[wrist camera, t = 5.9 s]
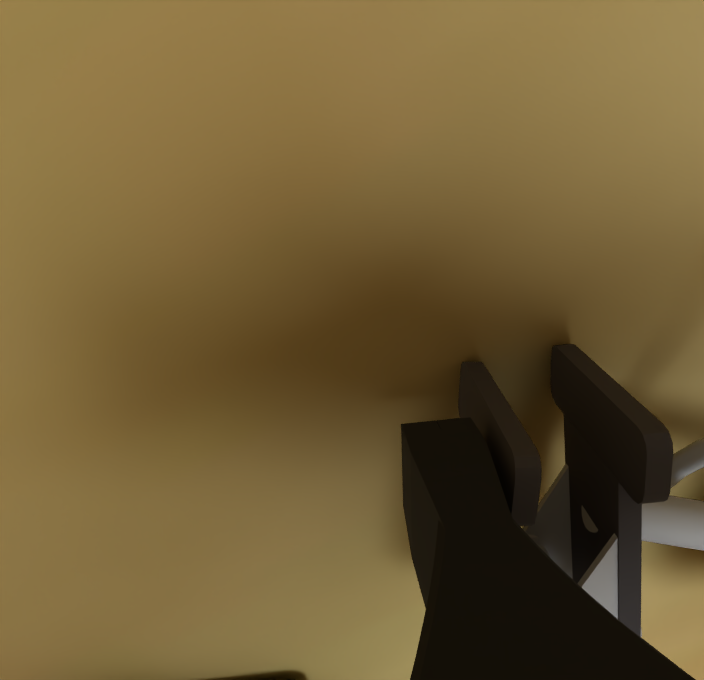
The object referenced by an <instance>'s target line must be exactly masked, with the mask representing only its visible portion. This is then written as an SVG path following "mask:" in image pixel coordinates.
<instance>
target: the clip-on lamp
mask: <svg viewBox="0 0 704 680" xmlns="http://www.w3.org/2000/svg"><path fill="white" fill-rule="evenodd" d="M551 392H552V397H553V399H554V401H555V403H556V405H557V406H558V407H559V408H560V410H561V411H562V412H563V413H564V437H565V463H566V464H565V466H564V467H563V469H562V470H561V472H560V473H559V475H558V476H557V478H556V479H555V481H554V482H553V484H552V485H551V487H550V488H549V490H548V491H547V493H546V494H545V496H544V497H543V499H542V500H541V502H540V503H539V505H538V501H539V493H540V485H541V462H540V456H539V453H538V451H537V448H536V447H535V445H534V444H533V442H532V440H531V439H530V437H529V436H528V434H527V432H526V431H525V429H524V428H523V426H522V424H521V423H520V421H519V420H518V418H517V416H516V415H515V413H514V412H513V410H512V409H511V407H510V405H509V404H508V402H507V401H506V399H505V397H504V396H503V394H502V393H501V391H500V389H499V388H498V386H497V385H496V383H495V381H494V380H493V378H492V377H491V375H490V373H489V372H488V370H487V369H486V367H485V365H484V364H483V363H482V362H462V364H461V371H460V384H459V399H458V408H459V416H460V418H466V417H471V419H472V420H473V422H474V423H475V425H476V426H477V428H478V429H479V431H480V433H481V434H482V436H483V438H484V440H485V441H486V443H487V446H488V448H489V451H490V454H491V457H492V460H493V463H494V466H495V468H496V471H497V474H498V477H499V480H500V483H501V486H502V489H503V492H504V495H505V498H506V501H507V504H508V507H509V510H510V513H511V516H512V518H513V519H514V520H515V521H516V522H517V524H518V525H519V526H524V527H523V530H524V531H525V532H526V533H527V534H528V535H529V536H530V537H531V538H532V540H533V541H534V542H535V543H536V544H537V545H538V546H539V547H540V548H541V549H542V550H543V551H544V552H545V553H546V554H547V555H548V556H549V557H550V558H551V559H552V560H553V561H554V562H555V563H556V564H557V565H558V566H559V567H560V568H561V569H562V570H563V571H564V572H565V573H566V574H568V575H569V576H570V577H571V578H572V579H573V580H574V581H575V582H576V583H577V584H578V585H579V586H581V587H582V588H583V589H584V590H585V591H586V592H587V593H588V594H589V595H590V596H592V597H593V598H594V599H595V600H596V601H597V602H599V603H600V604H601V605H602V606H603V607H604V608H605V609H607V610H608V611H609V612H610V613H611V614H612V615H614V616H615V617H616V618H617V619H618V620H619V621H621V622H622V623H623V624H624V625H625V626H627V627H628V628H629V629H631V630H632V631H633V632H634V633H636V634H637V635H638V636H640V637H641V636H642V632H641V544H642V541H648V542H654V543H660V544H666V545H672V546H678V547H684V548H690V549H697V550H703V551H704V501H699V500H693V499H687V498H681V497H676V496H670V495H669V494H670V489H671V488H672V487H673V486H674V485H676V484H677V483H678V482H679V481H680V480H682V479H683V478H684V477H685V476H687V475H689V474H691V473H693V472H695V471H697V470H699V469H700V468H702V467H704V438H702V439H699V440H697V441H695V442H693V443H692V444H690V445H688V446H687V447H685V448H683V449H681V450H680V451H678V452H676V453H675V454H673V443H672V440H671V437H670V434H669V431H668V430H667V429H666V427H665V426H664V424H663V423H661V422H660V421H659V420H658V419H657V418H656V417H655V416H654V415H653V414H651V413H650V412H649V411H648V410H647V409H646V408H645V407H644V406H643V405H641V404H640V403H639V402H638V401H637V400H636V399H635V398H634V397H632V396H631V395H630V394H629V393H628V392H627V391H626V390H625V389H624V388H622V387H621V386H620V385H619V384H618V383H617V382H616V381H615V380H614V379H612V378H611V377H610V376H609V375H608V374H607V373H606V372H605V371H603V370H602V369H601V368H600V367H599V366H598V365H597V364H596V363H595V362H593V361H592V360H591V359H590V358H589V357H588V356H587V355H586V354H585V353H583V352H582V351H581V350H580V349H579V348H578V347H577V346H576V345H574V344H567V345H557V346H553V348H552V355H551Z"/></svg>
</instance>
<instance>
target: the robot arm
mask: <svg viewBox="0 0 704 680" xmlns="http://www.w3.org/2000/svg"><path fill="white" fill-rule="evenodd" d="M401 436H402V476H403V507H404V513H405V519H406V525H407V531H408V537H409V543H410V549H411V555H412V560H413V563H414V567H415V571H416V575H417V578H418V582H419V585H420V589H421V593H422V596H423V600H424V604H425V607H426V612H425V617H424V622H423V626H422V631H421V636H420V640H419V645H418V650H417V654H416V658H415V662H414V666H413V670H412V674H411V678H410V680H695V679H694V678H693V677H691V676H690V675H688V674H687V673H686V672H685V671H683V670H682V669H681V668H679V667H678V666H677V665H676V664H674V663H673V662H672V661H670V660H669V659H668V658H667V657H665V656H664V655H663V654H661V653H660V652H659V651H658V650H656V649H655V648H654V647H652V646H651V645H650V644H649V643H647V642H646V641H645V640H643V639H642V638H641V637H640V636H638V635H637V634H636V633H634V632H633V631H632V630H631V629H629V628H628V627H627V626H625V625H624V624H623V623H622V622H621V621H619V620H618V619H617V618H616V617H615V616H614V615H612V614H611V613H610V612H609V611H608V610H607V609H605V608H604V607H603V606H602V605H601V604H600V603H599V602H597V601H596V600H595V599H594V598H593V597H592V596H590V595H589V594H588V593H587V592H586V591H585V590H584V589H583V588H582V587H581V586H579V585H578V584H577V583H576V582H575V581H574V580H573V579H572V578H571V577H570V576H569V575H568V574H566V573H565V572H564V571H563V570H562V569H561V568H560V567H559V566H558V565H557V564H556V563H555V562H554V561H553V560H552V559H551V558H550V557H549V556H548V555H547V554H546V553H545V552H544V551H543V550H542V549H541V548H540V547H539V546H538V545H537V544H536V543H535V542H534V541H533V540H532V538H531V537H530V536H529V535H528V534H527V533H526V532H525V531H524V530H523V529H522V528H521V527H520V526H519V525H518V524H517V522H516V521H515V520H514V519H513V518H512V516H511V513H510V510H509V507H508V504H507V501H506V498H505V495H504V492H503V489H502V486H501V483H500V480H499V477H498V474H497V471H496V468H495V466H494V463H493V460H492V457H491V454H490V451H489V448H488V446H487V443H486V441H485V440H484V438H483V436H482V434H481V433H480V431H479V429H478V428H477V426H476V425H475V423H474V422H473V420H472V419H471V417H466V418H456V419H447V420H437V421H427V422H417V423H407V424H401Z"/></svg>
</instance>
